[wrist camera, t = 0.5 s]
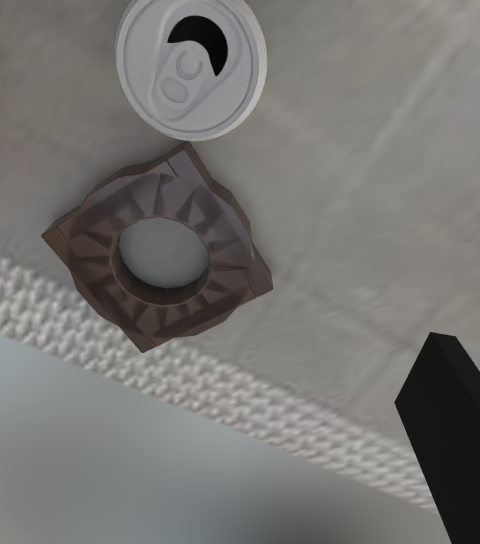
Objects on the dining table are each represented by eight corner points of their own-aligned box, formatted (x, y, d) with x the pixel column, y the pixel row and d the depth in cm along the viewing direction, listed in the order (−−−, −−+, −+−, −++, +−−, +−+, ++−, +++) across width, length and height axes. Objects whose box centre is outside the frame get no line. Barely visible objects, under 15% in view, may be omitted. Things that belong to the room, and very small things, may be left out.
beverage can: (278, 33, 28) (302, 39, 17) (222, 124, 30) (214, 176, 20) (188, -35, 26) (154, -75, 16) (137, 67, 29) (79, 91, 18)
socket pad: (191, 126, 31) (187, 134, 28) (282, 275, 36) (285, 292, 34) (40, 219, 34) (26, 233, 31) (145, 343, 39) (140, 362, 37)
